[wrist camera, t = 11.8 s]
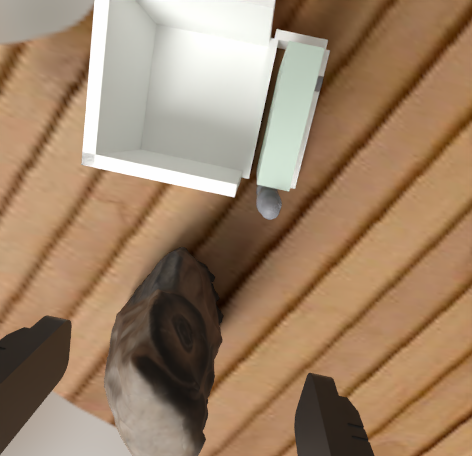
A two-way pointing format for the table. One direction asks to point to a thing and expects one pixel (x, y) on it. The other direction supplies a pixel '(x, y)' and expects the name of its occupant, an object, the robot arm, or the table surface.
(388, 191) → the table surface
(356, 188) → the table surface
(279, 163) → the door
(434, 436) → the table surface
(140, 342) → the owl
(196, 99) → the cabinet
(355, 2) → the table surface
